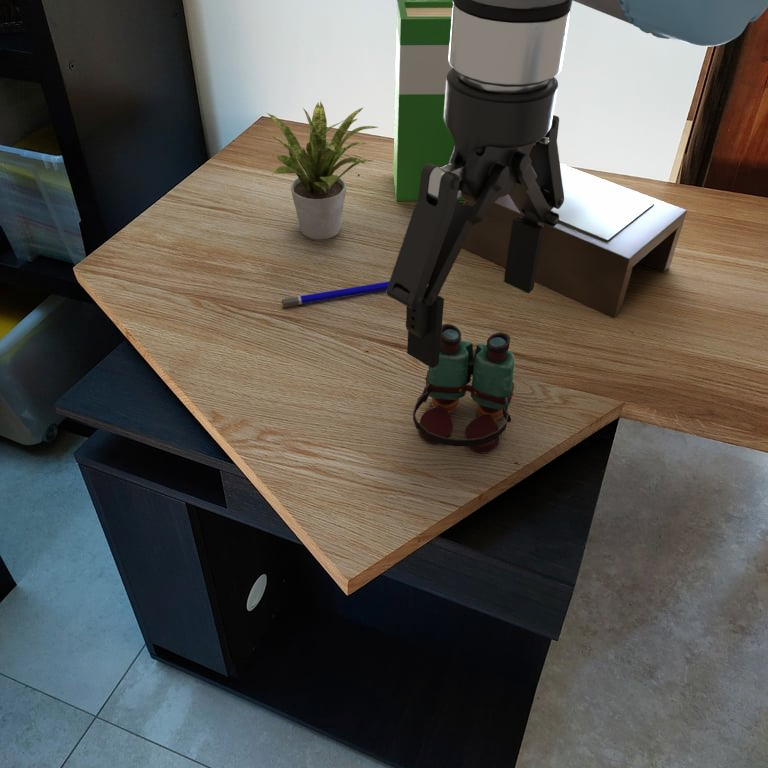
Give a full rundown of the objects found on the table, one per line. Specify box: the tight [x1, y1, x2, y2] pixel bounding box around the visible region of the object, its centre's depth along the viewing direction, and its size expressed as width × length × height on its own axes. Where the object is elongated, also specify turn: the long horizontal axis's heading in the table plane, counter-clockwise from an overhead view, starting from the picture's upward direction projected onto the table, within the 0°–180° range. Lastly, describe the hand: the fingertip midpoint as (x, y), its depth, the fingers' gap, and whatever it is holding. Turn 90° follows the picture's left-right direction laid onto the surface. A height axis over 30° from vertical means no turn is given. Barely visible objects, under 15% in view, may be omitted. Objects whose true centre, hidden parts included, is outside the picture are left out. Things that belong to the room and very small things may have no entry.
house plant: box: [266, 101, 378, 240], centre depth 96 cm, size 14×14×16 cm
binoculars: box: [412, 323, 515, 454], centre depth 72 cm, size 9×11×10 cm
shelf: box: [462, 162, 688, 319], centre depth 95 cm, size 22×14×10 cm, turn 48°
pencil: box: [281, 280, 390, 308], centre depth 91 cm, size 17×1×1 cm, turn 107°
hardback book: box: [392, 0, 466, 202], centre depth 103 cm, size 18×7×24 cm, turn 93°
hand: (473, 320), depth 67 cm, fingers open, 13 cm apart
